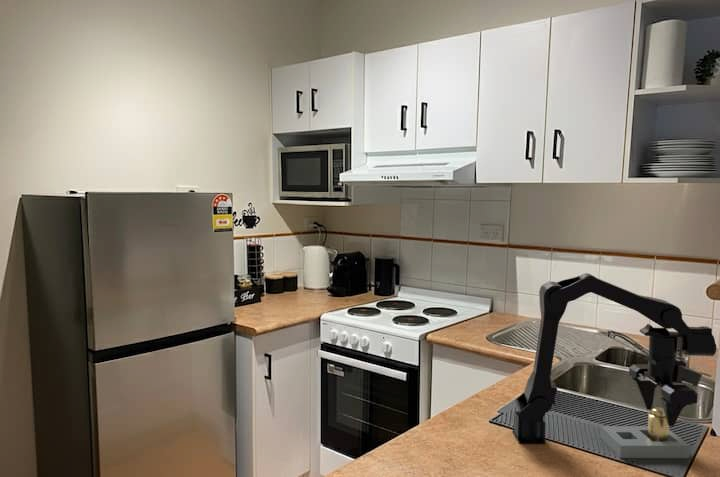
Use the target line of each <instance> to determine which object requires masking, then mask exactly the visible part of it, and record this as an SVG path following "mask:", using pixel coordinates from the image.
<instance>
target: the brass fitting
mask: <svg viewBox="0 0 720 477" xmlns="http://www.w3.org/2000/svg"><path fill="white" fill-rule="evenodd" d="M647 415H648V416H647V417H648V418H647V426H648V435H647V437H648V438H649V439H650V440H651V441H653V442H669V430H670V426H669V425H668V423H667V420H666V416H665V412H664V409H663V407H658V406H654V407H653V406H652V409H651V411H650V412H648V414H647Z"/></svg>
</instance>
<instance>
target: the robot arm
mask: <svg viewBox="0 0 720 477" xmlns="http://www.w3.org/2000/svg"><path fill="white" fill-rule="evenodd" d="M538 292H539V293H538V294H539V310H540V324H539V329H538V330H539V331H538V335H537V344H536V351H535V355H534V356H535V357H534V364H533V369H532V372H531V375H530V376H529V378H528V379H527V381H526V382H527V383H526V384H525V388H524V391H523V393H521V394H520V395H519V396H518V397H517V398H515V405H516V406H517V407H516V408H517V411H514V429H513V430H512V434H513V436H514V437H515V439H516V441H517V442H518V443H519V444H520V445H521V444H522V445H523V444H524V445H529V444H531V445H545V444H546V440H545V438H546V422H545V418H544V417H545V416H546V414H547V413H548V412H550V411H551V410H552V408H553V405H554V406H555V405H556V400H555V397H556V395H557V391H558V388H557V385H556V383H555V382H554V380H553V379H551V375H552V374H551V373H552V368H553V364H554V363H553V361H554V355H555V348H556V344H557V336H558V330H559V324H560V321H561V319H562V318H563V316H564V314H565V312H566V308H567V306H568V303H570V302H573V301H575V300H578V299H579V298H581V297H584V296H585V295H587V294H589V293H592V294H595V295H596V296H599V297H602V298H605V299H607V300H609V301H611V302H614V303H617V304H619V305H620V306H623V307H626V308H627V309H631V310H632V311H633V310H634V311H636V312H637V313H639V314H641V315H642V316H644V317H645V318H647V319H648V320H650V321H652V322H654V323H655V324H657V325H658V326H660V327H654V326H652V325H651V324H650V323H647V324H646V325H645V326H644V327H642V328H640V329H639V333H641V334H643V335H644V336H645V337H649V338H648V354H644V359H645V360H646V361H647V362H648V363H647V364H646V363H644V364H641V363H640V364H639V363H638V364H634V363H633V364H632V365H630V367H628V368H629V370H628V375H629V376H630V377H631V380H632V381H633V383H634V385H635V387H636V389H637V391H638V393H639V396H640V397H641V400H642V402H643V404H644V406H645V408H646V410H650V411H652V408H653V404H654V398H655V392H656V387H658V386H659V387H660V388H661V392H660V393H661V395H662V397H660V400H661V404H662V408H663V409H664V412H665V416H666V420H667V423H668V425H669V427H674V426H675V424H676V422H677V420H678V419H679V416H680V414H681V413H682V410H683V409H684V408H685V407H687V406H691V405H693V404H698V402H699V393H697V392H696V390H694V389H693V388H691V387H690V386H687V385H686V384H683V382H685V383H688V384H690V385H692V386H693V387H698V386H699V383H700V381H701V379H702V377H703V374H702V373H700V372H698V371H697V370H695V369H693V368H690V367H688V366H687V363H686V362H685V361H684V360H681V359H679V358H677V355H678V354H677V352H678V351H681V353H682V355H684V356H695V357H696V356H698V357H714V356H715V354H716V352H717V344H716V340H715V337H714V335H713V328H711V327H709V326H704V325H703V326H688V325H687V323H686V322H685V320H684V319H683V314H682V311H681V308H679V307H678V306H676V305H675V304H673V303H670V302H668V301H666V300H664V299H660V298H656V297H652V296H645V295H640V294H637V293H635V292H632V291H630V290H627V289H625V288H622V287H620V286H618V285H614V284H613V283H611V282H608V281H605V280H603V279H601V278H598V277H596V276H594V275H592V274H591V273H587V272H586V273H582V274H580V275H577V276H574V277H570V278H567V279H566V278H565V279H562V280H560V281H557V282H556V281H547V282H545V283H543V284H542V285H541V286H540V288H539V290H538ZM671 329H672V330H675V331H669V330H671ZM677 350H678V351H677ZM675 383H676V384H675Z"/></svg>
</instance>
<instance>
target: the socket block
mask: <svg viewBox="0 0 720 477" xmlns="http://www.w3.org/2000/svg"><path fill="white" fill-rule="evenodd" d="M599 434H600V436H599V438H600V439H601V440H602V441H603V443H605V444H606V445H607V446H608V447H609V448H610V450H611V451H613V452H614V454H616V455H617V456H618V458H620V459H690V457H691V456H690V455H691V454H690V452H691V445H690V444H688V443H687V442H686V441H685V440H684V439H682V438H681V437H679V436H678V435H677V434H675V433H674V432H673V431H671V430H670V429H669V442H653V441H651V440H650V439H649V438H648V437H647V435H648V425H647V426H646V425H643V426H640V425H639V426H637V425H634V426H633V425H630V426H629V425H626V426H625V425H624V426H623V425H622V426H621V425H617V426H616V425H613V426H612V425H611V426H610V425H604V426H603V425H602V426H601V425H600V432H599Z"/></svg>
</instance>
